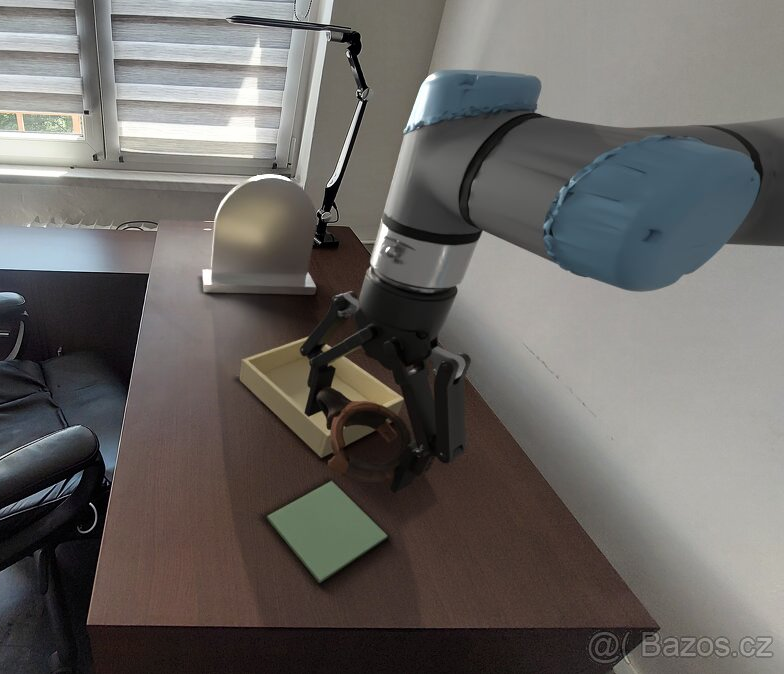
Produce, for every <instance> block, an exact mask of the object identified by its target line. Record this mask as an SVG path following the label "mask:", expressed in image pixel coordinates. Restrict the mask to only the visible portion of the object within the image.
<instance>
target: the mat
mask: <svg viewBox="0 0 784 674" xmlns="http://www.w3.org/2000/svg"><path fill="white" fill-rule="evenodd" d="M266 520H267V521H268V522H269V523H270V524H271V526H272V527H273V528H274V529H275V530H276V532H277V533H278V534H279V536H280V537H281V538H282V540H284V542H285V543H286V544H287V545H288V547H289V548H290V550H292V552H293V553H294V554H295V555H296V556H297V558H298V559H299V560H300V561H301V563H302V564H303V565H304V566H305V568H306V569H307V570H308V571H309V572H310V574H311V575H312V576H313V577H314V579H315V580H316V581H317V583H319V584H321V583H322V582H323V581H325V580H327V579H328V578H330V577H331V576H333V575H334V574H336V573H337V572H338V571H340V570H342V569H343V568H344V567H346V566H348V565H349V564H351V563H352V562H353V561H355V560H356V559H357V558H360V557H361V556H362V555H364V554H365V553H367V552H369V551H370V550H371V549H373V548H374V547H376V546H377V545H379V544H380V543H381V542H384V541H386V539H387V538H388V535H387V534H386V533H385V531H384V530H382V529H381V527H379V526H378V525H377V524H376V523H375V522H374V521H373V520H372V519H371V518H370V517H369V516H368V515H367V514H366V513H365V512H364V510H362V509H361V508H360V507H359V506H358V505H357V504H356V503H355V502H354V501H353V500H352V499H351V498H350V497H349V496H348V495H347V494H346V493H345V491H343V490H342V489H341V488H339V486H338V485H337V484H335V482H334V481H333V480H331V481H329V482H327V483H325V484H323V485H321V486H320V487H318V488H316V489H314V490H312V491H311V492H309V493H307V494H305V495H303V496H302V497H300V498H298V499H296V500H295V501H292V502H291V503H289V504H287V505H285V506H283V507H281V508H279V509H278V510H276V511H274V512H272V513H270V514H268V515H267V516H266Z"/></svg>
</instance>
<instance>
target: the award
mask: <svg viewBox="0 0 784 674" xmlns="http://www.w3.org/2000/svg"><path fill="white" fill-rule="evenodd" d="M317 218H318V217H317V211H316V208H315V205H314V202H313V200H312V199H311V197H310V196H309V194H308V193H307V191H306V190H305V189H304V188H303V187H301V185H299V184H298V183H297V182H295V181H294V180H293V179H290V178H288V177H286V176H282V175H279V174H262V175H256V176H253V177H250V178H246V179H245V180H243V181H241V182H240V183H238V184H237V185H236V186H234V187H232V189H230V191H229V192H228V193H227V194H226V195H225V196H224V197H223V199H222V200H221V202H220V204H219V206H218V208H217V210H216V213H215V216H214V222H213V233H212V234H213V235H212V248H211V260H210V261H211V262H210V269H202V278H201V279H202V286H203V292H204V293H224V294H225V293H227V294H229V293H231V294H266V295H267V294H268V295H269V294H271V295H303V296H304V295H310V296H314V295H316V290H317V285H316V283H315V282H314V280H313V278H312V276H311V275H310V273H309V272H308V270H309V265H310V260H311V256H312V251H313V245H314V241H315V237H316V232H317V223H318V221H317V220H318V219H317Z"/></svg>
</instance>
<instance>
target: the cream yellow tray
mask: <svg viewBox="0 0 784 674" xmlns="http://www.w3.org/2000/svg"><path fill="white" fill-rule="evenodd" d="M308 337H309V336H306V337H303V338H300V339H298V340H295V341H292V342H289V343H286V344H284V345H280V346H278V347H274V348H272V349H268V350H266V351H263V352H260V353H257V354H255V355H252V356H249V357H246V358H242V359H241V366H240V374H239V381H240V382H241V383H242V384H244V386H245V387H246V388H247V389H248V390H250V391H251V393H253V394H254V395H255V396H256V397H257V398H258V399H259V400H260V401H261V402H262V403H263V404H264V405H265V406H266V407H267V408H269V410H271V412H273V414H274V415H276V416H277V417H278V418H279V420H281V421H282V422H283V423H284V424H285V425H287V427H288V428H289V429H290V430H291V431H292V432H293V433H294V434H296V435H297V436H298V437H299V439H301V440H302V441H303V442H304V443H305V444H306V445H307V446H308V447H309V448H311V450H312V451H313V452H314V453H315V454H317V455H318V457H320V459H323V458H324V457H326V456H328V455H330V454H333V451H332V447H331V433H330V432H331V430H328V429H327V426H326V424H327V421H326V417H325V415H324V413H323V412H322V411H321V412H318V413H316V414H314V415H312V416H310V417H308V416H307V415H306V414H305V413H304V412H305V408H306V404H307V400H308V396H309V392H310V388H309V387H308V384H307V381H308V377H309V373H310V369H311V367H310V364H309V361H310V360H309V359H308V358H307V356H302V355H301V353H300V347H301V346H302V345H303V344H304V342H305V341H306V340H307V339H308ZM330 348H332V347H331V346H330V345H328V343H327V344H326V345H325V346H324V347H323V349H322V351H323V352H325V351H327V350H329V349H330ZM330 365H332V366H333V367H334V368H336V370H335V374H334V378H333V381H332V385H331V388H333V389H335V390H337V391H339V392H341V393H342V394H343V395H344V396H345V397H347V398H348V399H349V400H351V401H368V402H374V403H377V404H380V405H383V406H385V407H387V408H389V409H390V410H392V411H393V412H394V413H395V414H397V415H398V416H399V414H400V412H401V409H402V407H403V404H404V403H405V401H404V398H403V396H401V395H400V394H398V393H397V392H396V391H394V390H393V389H391V387H388V386H387V385H386V384H384V383H383V382H381V381H380V380H379V379H377V378H375V376H373V375H371V374H370V373H369V372H368V371H366V370H364V369H363V368H361V367H360V366H359V365H357V364H356V363H354V362H352V361H351V360H350V359H349V358H347V357H346V356H343V357H341V358H339V359H337V360H335V361H334V362H332V363H329V364H328V366H330ZM386 421H387V422H388V423H389V424H391V423H393V422H392V421H391V420H390V419H386ZM375 431H376V430H375V429H373V428H371V427H368V426H362V425H353V426H349V427H344V428H343V438H344V442H345V446H344V447H346V446H348V445H350V444H351V443H354V442H355V441H358V440H360V439H362V438H364V437H365V436H367V435H369V434H372V433H373V432H375Z"/></svg>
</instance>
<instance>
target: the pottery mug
mask: <svg viewBox="0 0 784 674" xmlns="http://www.w3.org/2000/svg"><path fill="white" fill-rule="evenodd" d="M317 402H318V405H319V407H320V408H321V410H322V412H323V413H324V415H325V417H326V421H327V424H326V426H327V429H328V430H331V432H330V433H331V447H332V451H333V452H332V454H333V455H334V456H333V457H331V459H329V460H328V461H327V462H328V463H327V465H328V467H329V469H330V470H331V471H332V472H333V473H334V474H335V475H336V476H340V477H342V476H343V475H344V477H345V478H347V479H350V480H354V481H361V482H368V483H377V482H378V483H379V482H384V481H385V478H387V479H393V478H394V476H395V473H396V471H397V469H398V467H399V464H400V462H401V460H402V458H403V455H404V453H405V451H406V448H407V446H408V445H409V444H411V443H413V442H414V440H413V436H412V434H411V431H410V430H409V428H408V426H407V424H406V423H405V422H404V420H403V419H402V418H401V416H399V414H398V415H397V414H395V413H394V412H393V411H392V410H390V409H389V408H387V407H385V406H383V405H380V404H377V403H374V402H368V401H351V400H349V399H348V398H347V397H345V396H344V395H343V394H342V393H341V392H339V391H337V390H335V389H333V388H330V387H324V388H323V389H322V390H320V391H319V392H318V393H317ZM386 419H390V420H391V421H392V422H391V423H392V424H394V425H395V427H396V428H397V430H398V432H399V435H400V442H401V443H400V449H399V450H398V452H397V454H396V455H395V456H394V457H393V458H392V459H390V460H387V461H385V462H379V463H376V462H375V463H374V462H368V461H365V460H363V459H361V458H359V457H357V456H356V455H355V454H351V455H350V457H349V456H348V455H347V454H346V452H345V450H344V448H345V447H346V446H345V442H344V438H343V428H344V427H349V426H353V425H362V426H368V427H371V428H373V429H375V431H376V432H377V433H379V434H380V435H381V436H382V437H383V438H384V439H385V441H386V442H387V443H391V442H392V441H393V440H394V439H396V438H397V437H398V433H397V432H396V430H395V429H394V428H393V427H392V425H390V424H391V423H388V422H387V421H386Z"/></svg>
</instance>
